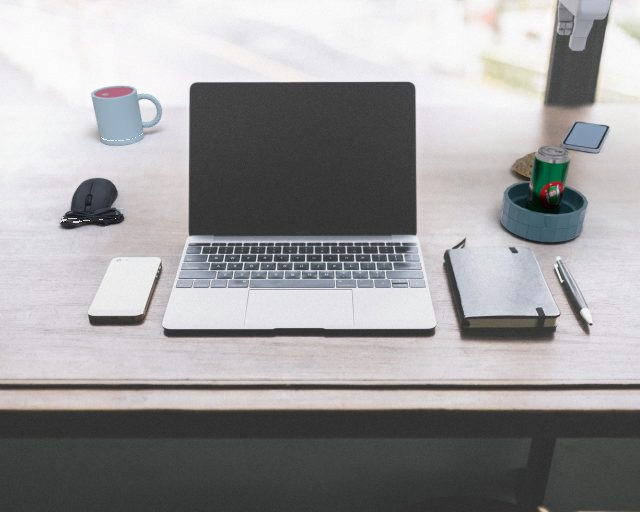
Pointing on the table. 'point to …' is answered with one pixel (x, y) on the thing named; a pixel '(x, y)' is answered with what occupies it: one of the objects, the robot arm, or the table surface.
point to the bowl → (543, 215)
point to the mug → (121, 114)
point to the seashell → (524, 165)
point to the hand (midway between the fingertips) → (569, 41)
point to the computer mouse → (94, 203)
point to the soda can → (548, 180)
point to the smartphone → (586, 137)
